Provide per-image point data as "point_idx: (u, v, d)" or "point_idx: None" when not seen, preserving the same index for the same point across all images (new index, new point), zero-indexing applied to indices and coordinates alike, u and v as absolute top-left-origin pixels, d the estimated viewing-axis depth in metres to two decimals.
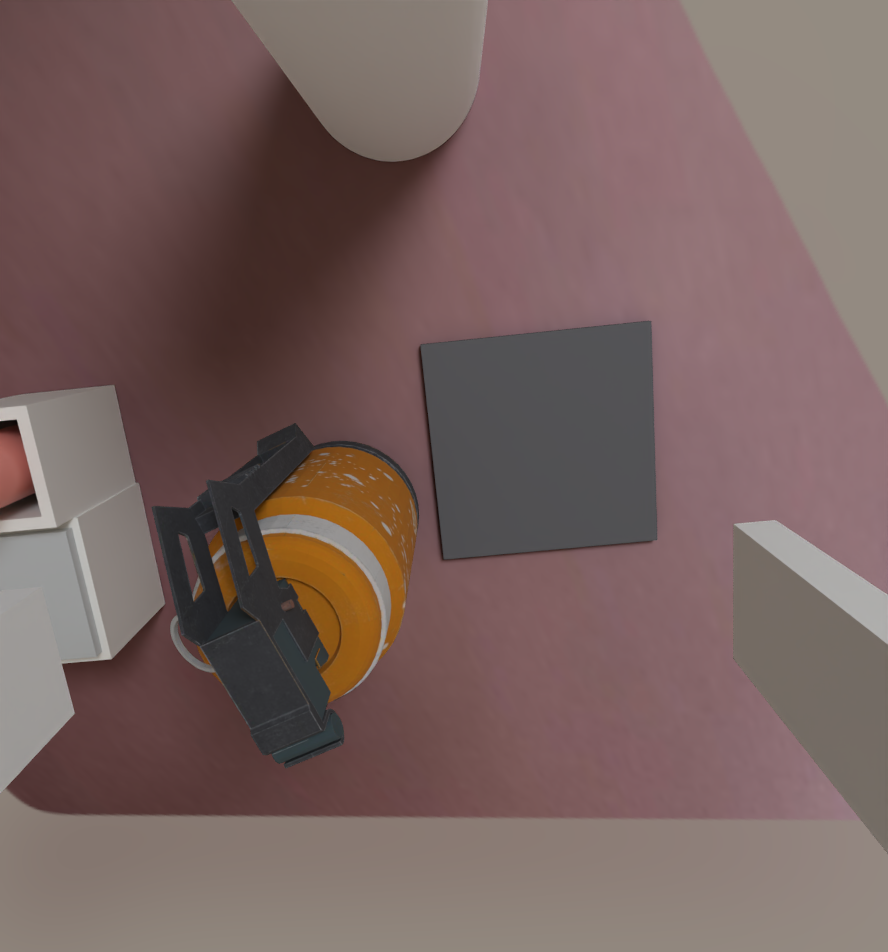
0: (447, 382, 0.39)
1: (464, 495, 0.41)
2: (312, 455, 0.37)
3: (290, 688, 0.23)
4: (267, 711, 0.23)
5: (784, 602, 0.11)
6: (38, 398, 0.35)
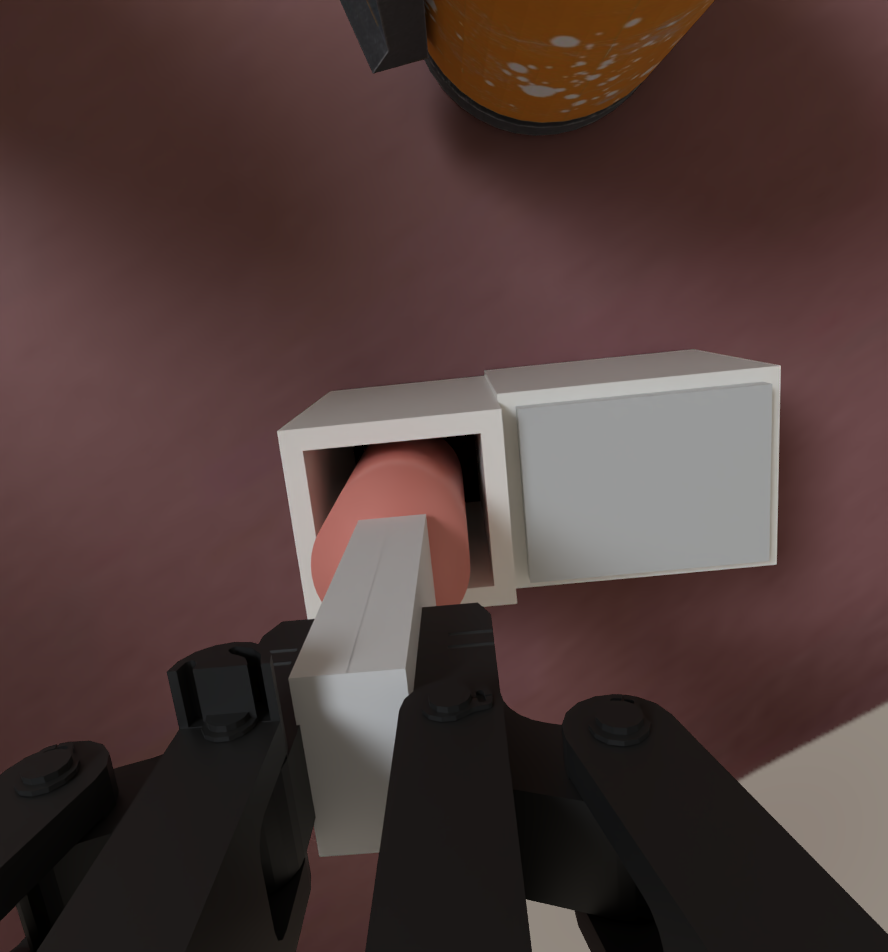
0: None
1: None
2: None
3: None
4: None
5: None
6: None
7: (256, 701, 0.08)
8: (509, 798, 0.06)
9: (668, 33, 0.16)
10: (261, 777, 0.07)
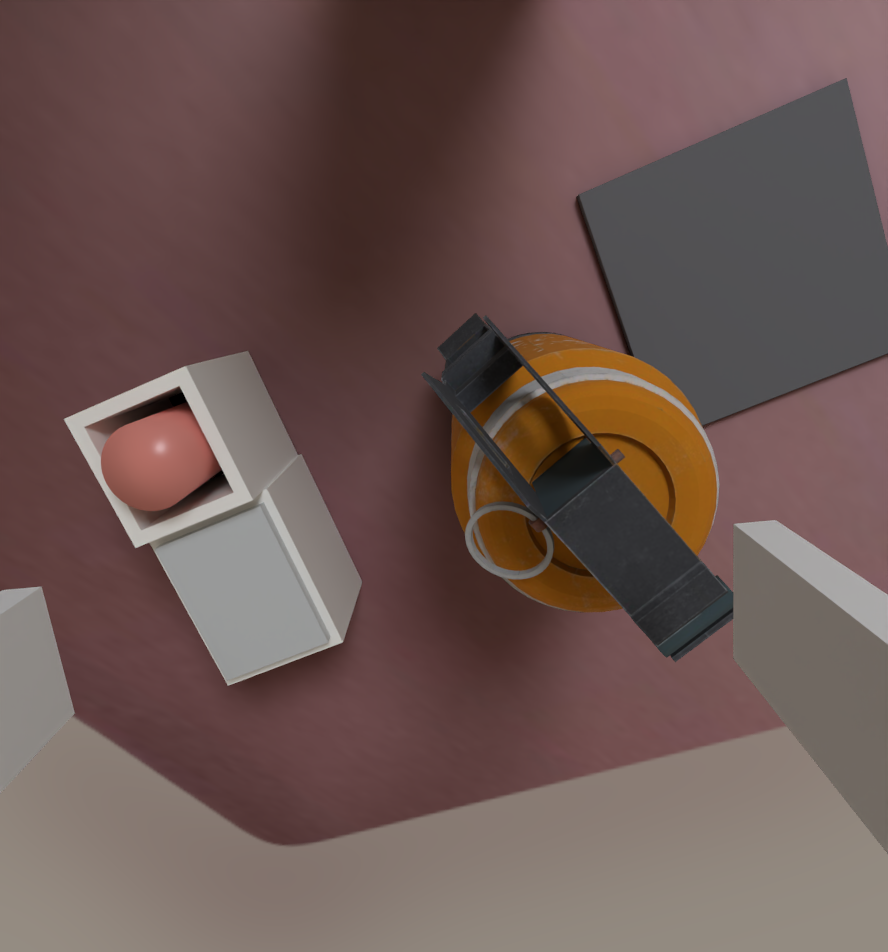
0: (620, 229, 0.33)
1: (670, 358, 0.34)
2: None
3: (673, 546, 0.17)
4: (648, 585, 0.17)
5: (784, 602, 0.11)
6: None
7: None
8: None
9: None
10: None
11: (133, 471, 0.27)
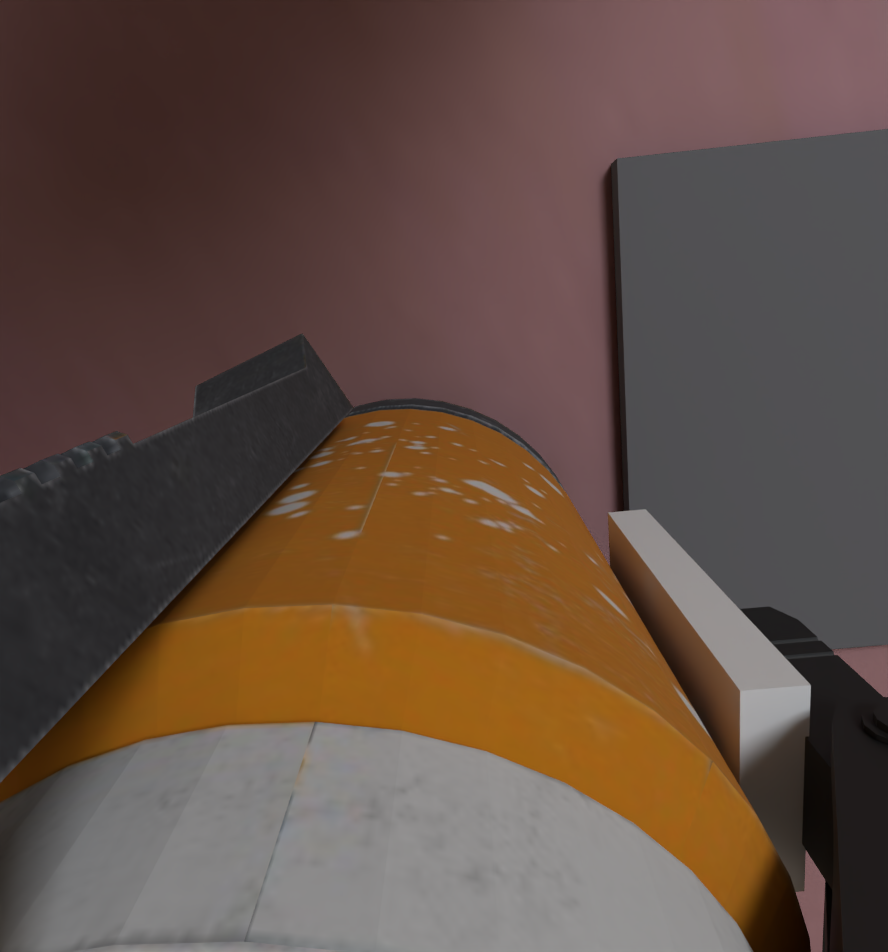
0: (676, 255, 0.16)
1: (693, 525, 0.18)
2: (347, 427, 0.14)
3: None
4: None
5: (634, 580, 0.12)
6: None
7: None
8: None
9: None
10: None
11: None
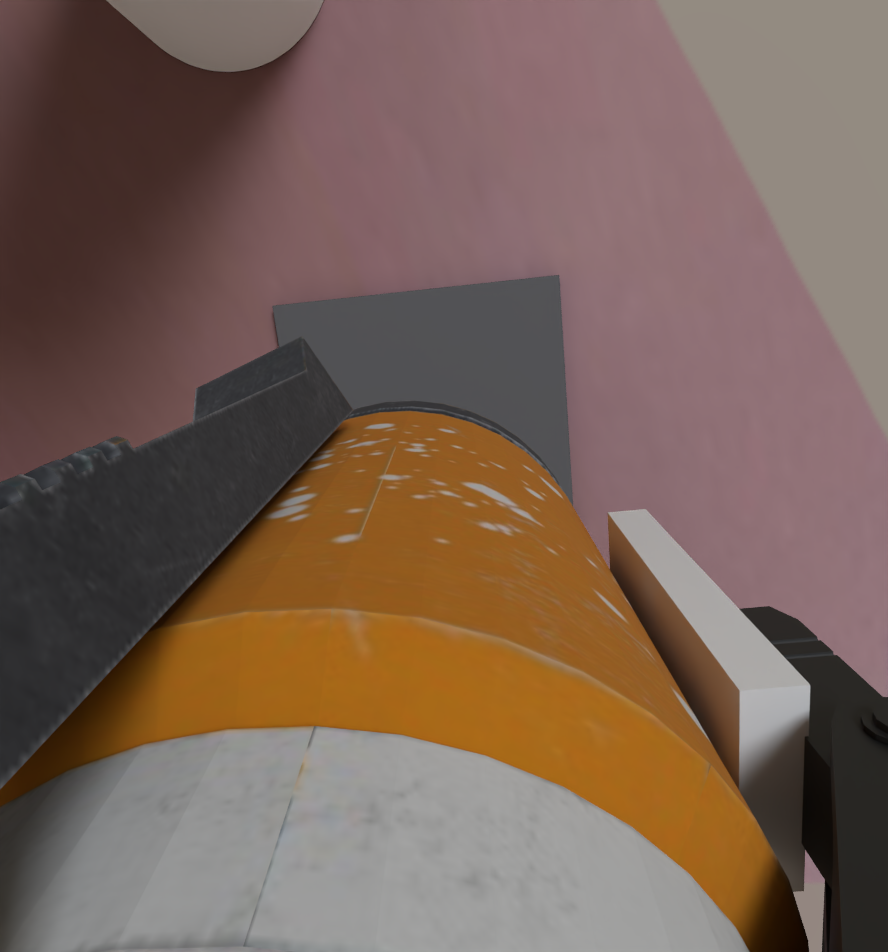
0: None
1: None
2: (347, 430, 0.14)
3: None
4: None
5: (634, 580, 0.12)
6: None
7: None
8: None
9: None
10: None
11: None
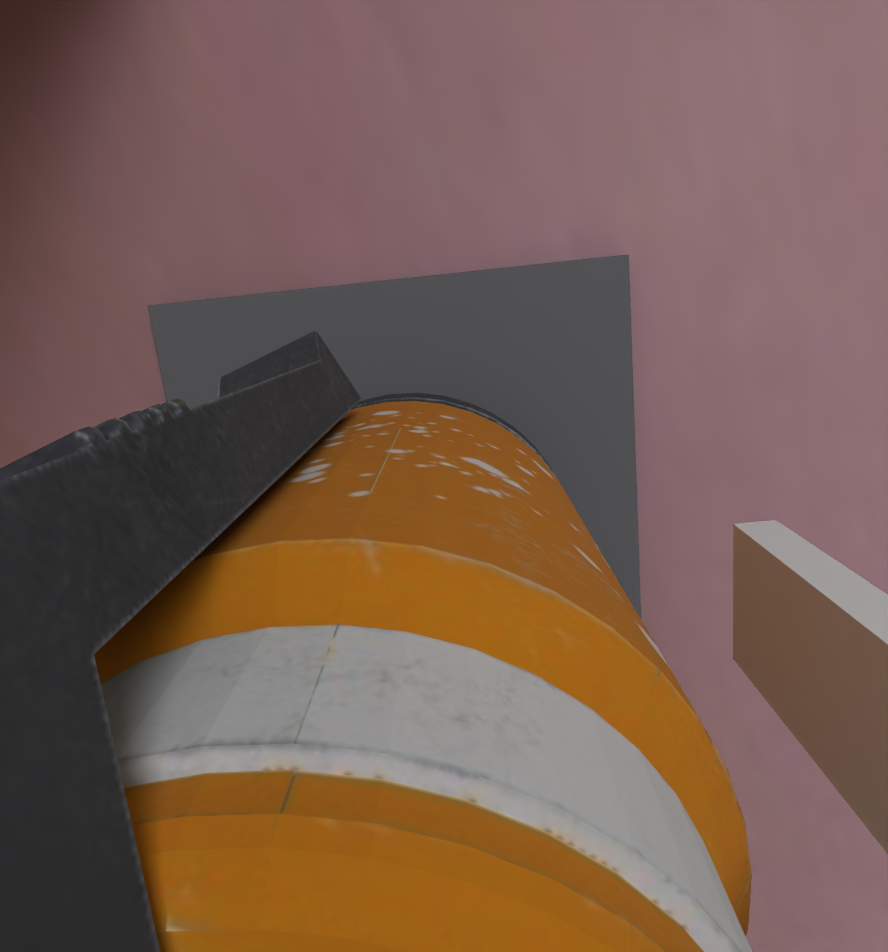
0: (210, 383, 0.19)
1: None
2: (356, 416, 0.15)
3: None
4: None
5: (784, 602, 0.11)
6: None
7: None
8: None
9: None
10: None
11: None
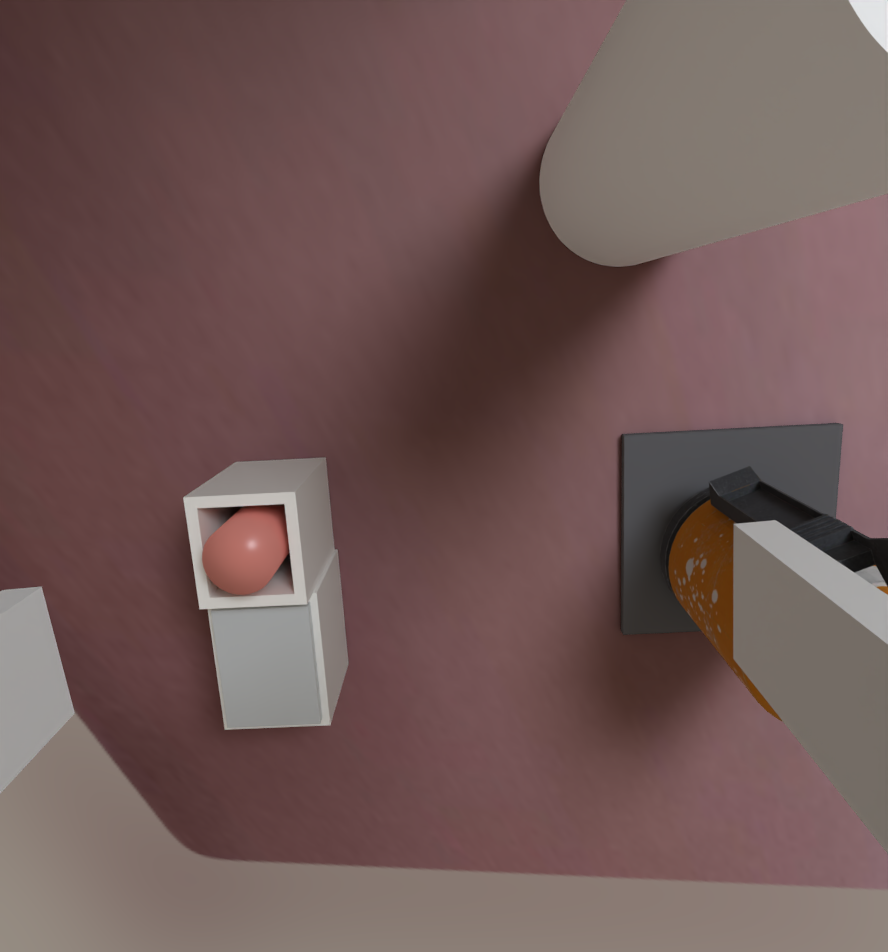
0: (645, 471, 0.41)
1: (649, 576, 0.43)
2: None
3: None
4: None
5: (784, 602, 0.11)
6: (280, 476, 0.37)
7: None
8: None
9: (710, 636, 0.35)
10: None
11: (227, 560, 0.33)
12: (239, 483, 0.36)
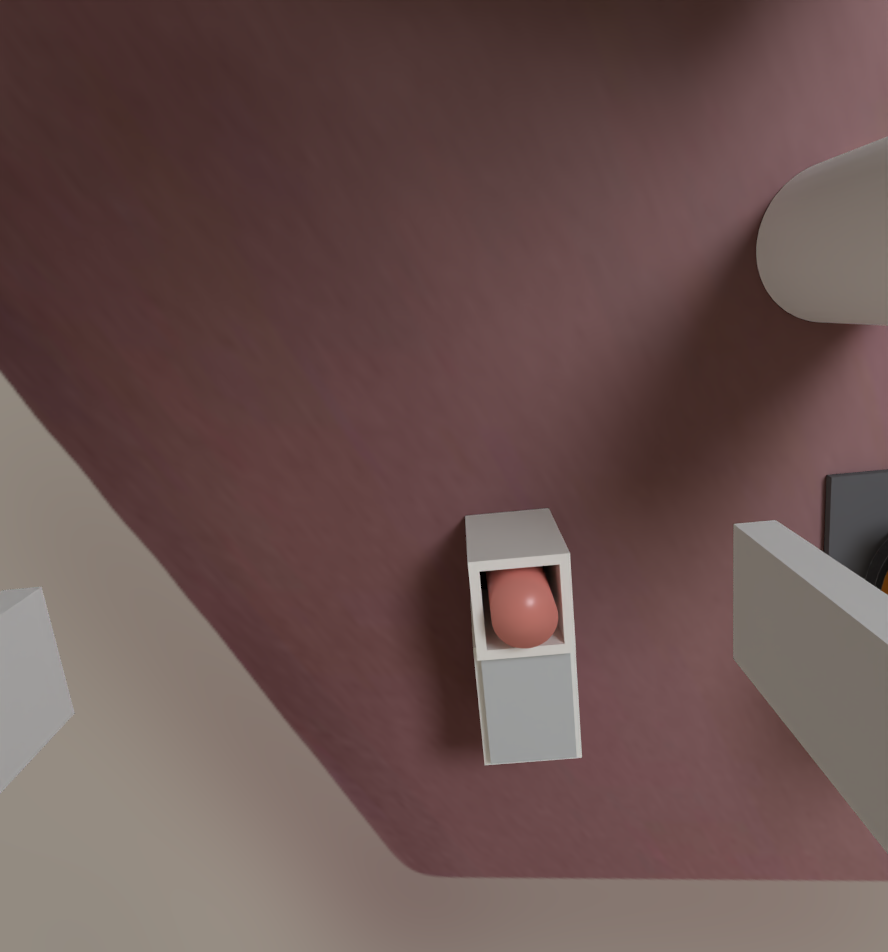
0: (850, 508, 0.44)
1: None
2: None
3: None
4: None
5: (784, 602, 0.11)
6: (532, 533, 0.41)
7: None
8: None
9: None
10: None
11: (514, 618, 0.37)
12: (502, 543, 0.40)
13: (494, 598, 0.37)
